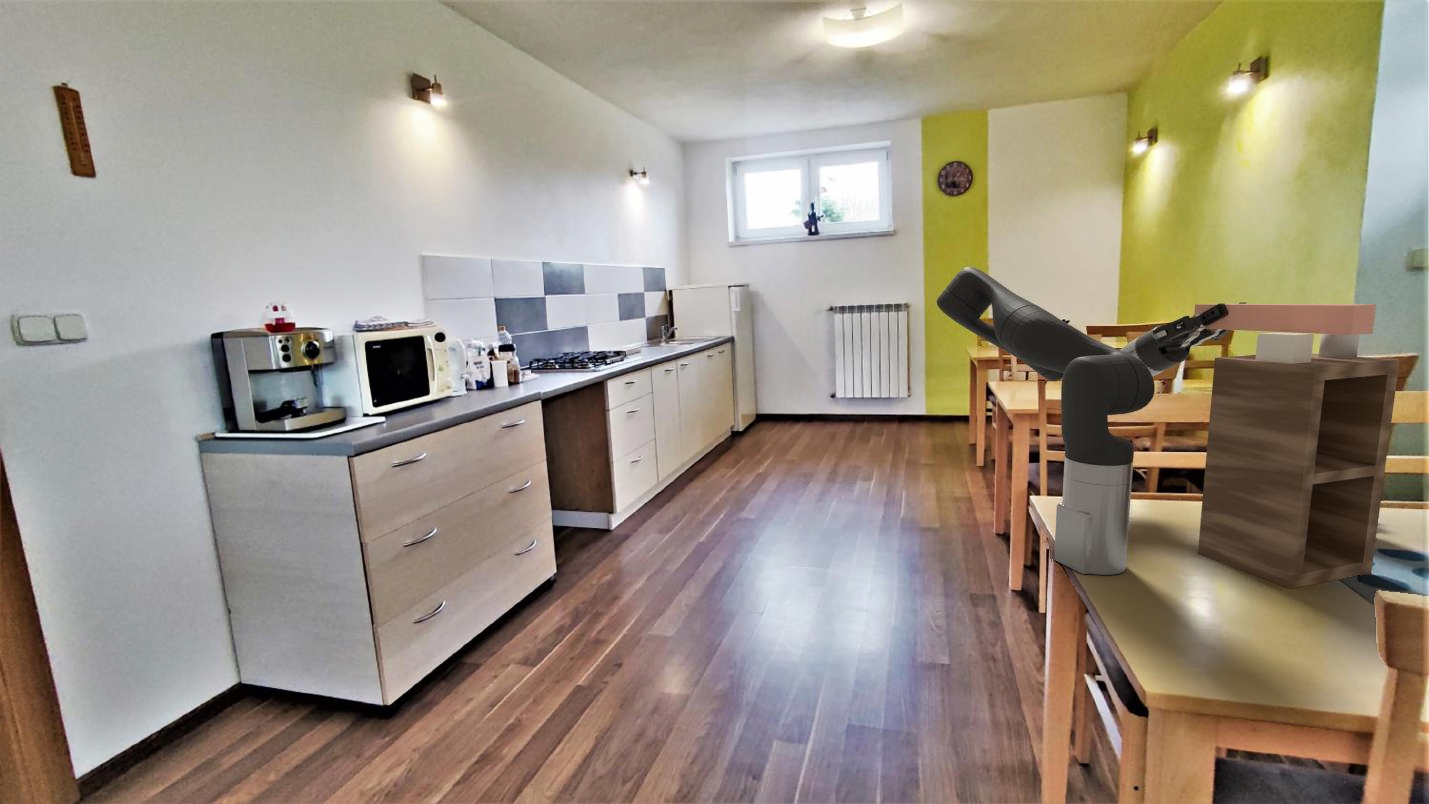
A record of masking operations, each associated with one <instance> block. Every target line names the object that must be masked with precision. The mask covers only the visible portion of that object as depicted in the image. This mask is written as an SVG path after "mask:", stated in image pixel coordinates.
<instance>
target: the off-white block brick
mask: <svg viewBox="0 0 1429 804" xmlns="http://www.w3.org/2000/svg"><path fill="white" fill-rule="evenodd" d="M1314 339H1315V333H1292V332H1261V333H1260V332H1259V333H1257V340H1256V351H1255V355H1256V358H1255V361H1267V362H1278V363H1290V364H1294V363H1307V362H1311V357H1312V353H1313V348H1314V347H1313V346H1314Z"/></svg>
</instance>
